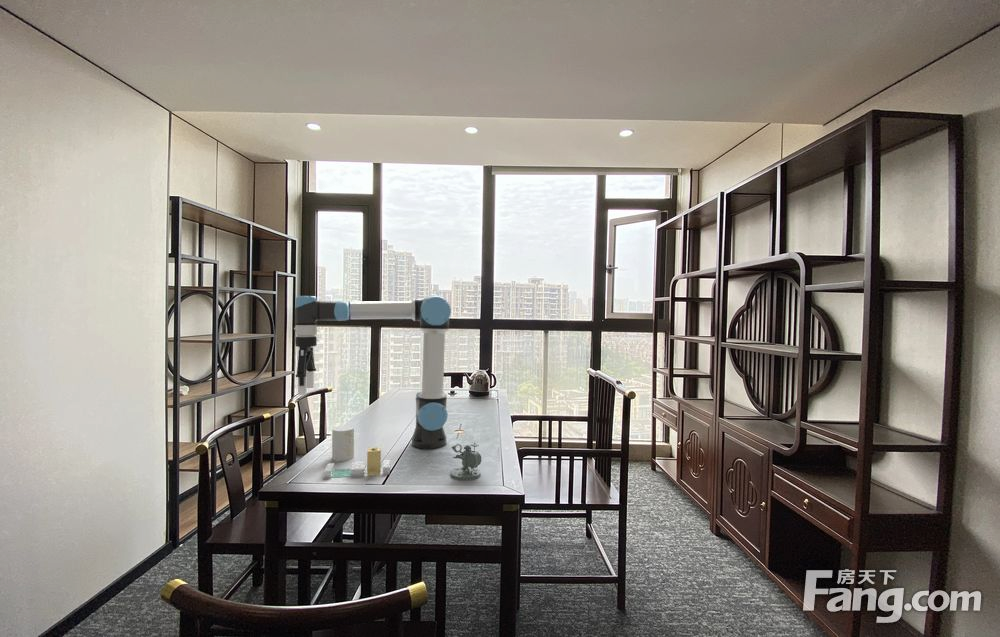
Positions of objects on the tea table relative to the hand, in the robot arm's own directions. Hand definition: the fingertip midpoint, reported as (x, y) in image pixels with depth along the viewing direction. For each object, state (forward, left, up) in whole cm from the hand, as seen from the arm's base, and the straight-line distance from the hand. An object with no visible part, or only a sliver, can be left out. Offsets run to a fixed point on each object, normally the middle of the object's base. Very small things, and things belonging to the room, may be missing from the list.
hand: (306, 391), depth 174 cm
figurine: (-59, +25, -28) cm, 70 cm away
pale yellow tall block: (-26, +17, -27) cm, 41 cm away
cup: (-13, -1, -28) cm, 31 cm away
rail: (-21, +17, -27) cm, 38 cm away
